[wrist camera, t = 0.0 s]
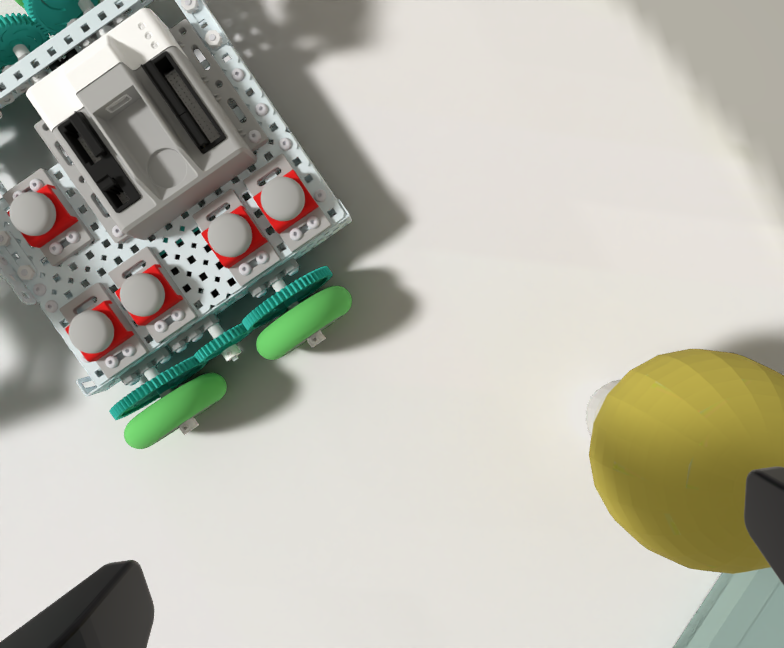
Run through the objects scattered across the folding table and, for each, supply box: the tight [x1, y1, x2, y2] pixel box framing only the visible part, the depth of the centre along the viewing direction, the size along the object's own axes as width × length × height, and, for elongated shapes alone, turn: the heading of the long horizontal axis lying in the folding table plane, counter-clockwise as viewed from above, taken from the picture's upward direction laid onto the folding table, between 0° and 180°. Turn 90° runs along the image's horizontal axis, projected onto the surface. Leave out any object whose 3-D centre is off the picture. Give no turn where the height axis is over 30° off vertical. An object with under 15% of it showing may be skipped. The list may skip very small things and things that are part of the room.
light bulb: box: [586, 349, 784, 574], centre depth 18 cm, size 7×7×10 cm
